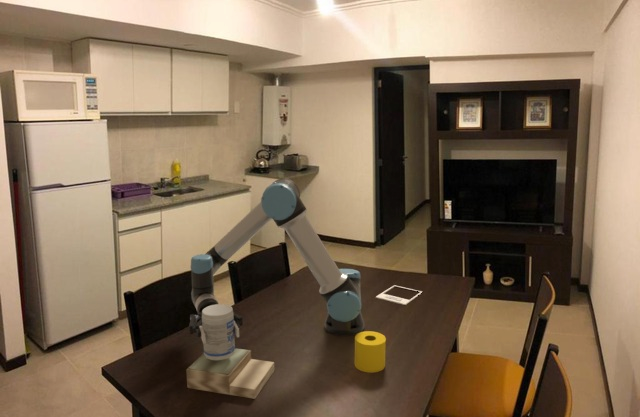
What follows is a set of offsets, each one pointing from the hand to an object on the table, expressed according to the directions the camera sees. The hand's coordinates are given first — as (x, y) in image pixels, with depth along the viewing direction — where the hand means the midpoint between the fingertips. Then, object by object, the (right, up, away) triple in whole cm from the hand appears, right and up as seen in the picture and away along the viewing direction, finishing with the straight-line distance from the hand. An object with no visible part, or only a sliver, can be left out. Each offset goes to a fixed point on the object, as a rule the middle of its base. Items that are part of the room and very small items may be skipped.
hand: (221, 336), depth 144 cm
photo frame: (+66, -2, +75) cm, 100 cm away
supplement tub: (-2, -7, +6) cm, 9 cm away
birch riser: (+2, -15, +6) cm, 16 cm away
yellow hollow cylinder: (+46, -13, +15) cm, 50 cm away
